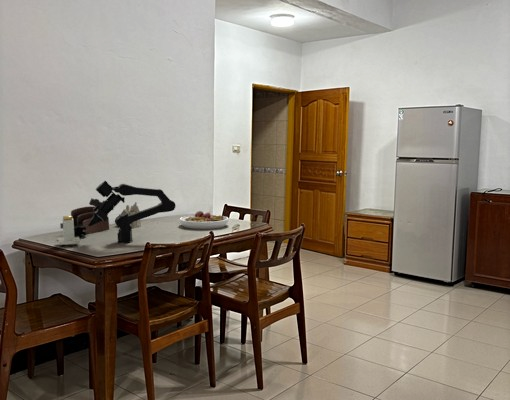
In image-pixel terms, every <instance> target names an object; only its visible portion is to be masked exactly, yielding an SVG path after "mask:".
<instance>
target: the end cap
mask: <svg viewBox="0 0 510 400" xmlns="http://www.w3.org/2000/svg"><path fill="white" fill-rule="evenodd" d="M83 229H84V230H86V227H84V226H83V225H75V226H74V237H79V239H80V238H81V239H85V238H87V234H86V232H84V231H83ZM81 239H80V240H81Z"/></svg>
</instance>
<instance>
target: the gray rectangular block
mask: <svg viewBox="0 0 510 400" xmlns="http://www.w3.org/2000/svg"><path fill="white" fill-rule="evenodd" d="M57 239H58V246H59V245H60V247H64V246H66V245H69V247H75V246H76V245H77V244H79V245H80V244H81V239H79V237H74V239H75V240H67V241H64V237H59V238H57Z"/></svg>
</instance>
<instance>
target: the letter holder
mask: <svg viewBox="0 0 510 400" xmlns="http://www.w3.org/2000/svg"><path fill="white" fill-rule="evenodd" d="M94 208H95V206H93V205H89V206H83V207H77V208H75V209H72V210H71V211H70V216H72V217H73V221H74V226H75V225H83V226H84V227H86V230H84V229H83V231H84V232H86V235H88V234H93V233H94V234H95V233H97V232H103V231H108V230H110V220H109V217H108V219H107V220H106V221H104V220H103V221H101V222H99V223H96V224H94V225H92V226H88V224H89V222H90V221H91V219H92V217H93V216H94V214H93V211H94V212H95V210H93V209H94Z"/></svg>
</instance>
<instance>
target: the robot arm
mask: <svg viewBox="0 0 510 400" xmlns="http://www.w3.org/2000/svg"><path fill="white" fill-rule="evenodd" d="M95 191H96V192H97V193H98V194H100V196H102V198H106V200H102V201H100V199H97V198H95V199H94V198H91V199H90V201H89V203H88V204H89V206H94V207H95V208H94V209H93V210H95V212H94V211H93V214H94V216H93V217H92V219H91V221H90V222H89V224H88V226H92V225H94V224H96V223H99V222H101V221H103V220H104V221H106V220H107V219H108V218H109V216H108V215H109V213H110V212H111V211H113V210H114V208H115V207H116V206H118V204H119V203H120V202H122V203H123V204H125V199H126V198H125V196H137V195H138V196H149V197H150V196H151V197H157V198H158V199H159V201H160V202H159V203H158V204H157V205H154V206H151V207H148V208H145V209H143V210H139V212H137V213H134V214H129V215H128V213H127V212H126V213H124V214H121V213H119V214H118V216H116V217H115V220H114V224H115V225H116V226H117V227H118V228H119V230H117V231H118V232H117V243H124V244H125V243H127V244H128V243H131V242H133V241H134V239H133V228H132V227H131V226H130V224H132V223H133V222H135V221H137V220H140V221H141V220H142V219H145V218H149V217H151V216H154V215H157V214H159V213H168V212H173V211H174V210H175V209H176V202H174V201H173V200H171V199H170V198H169V197H168V196H167V194H165V192H164V191H163V190H162V189H160V188H157V189H156V188H148V187H147V188H146V187H137V186H133V185H129V184H126V183H120V184H119V185H118V186H113V187H112V185H111V184H109V182H108V181H106V180H103V182H102V183H100V184H99V185H98V186H97V187H96V188H95ZM113 191H114V192H113ZM116 193H117V194H116ZM120 214H121V215H120Z"/></svg>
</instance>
